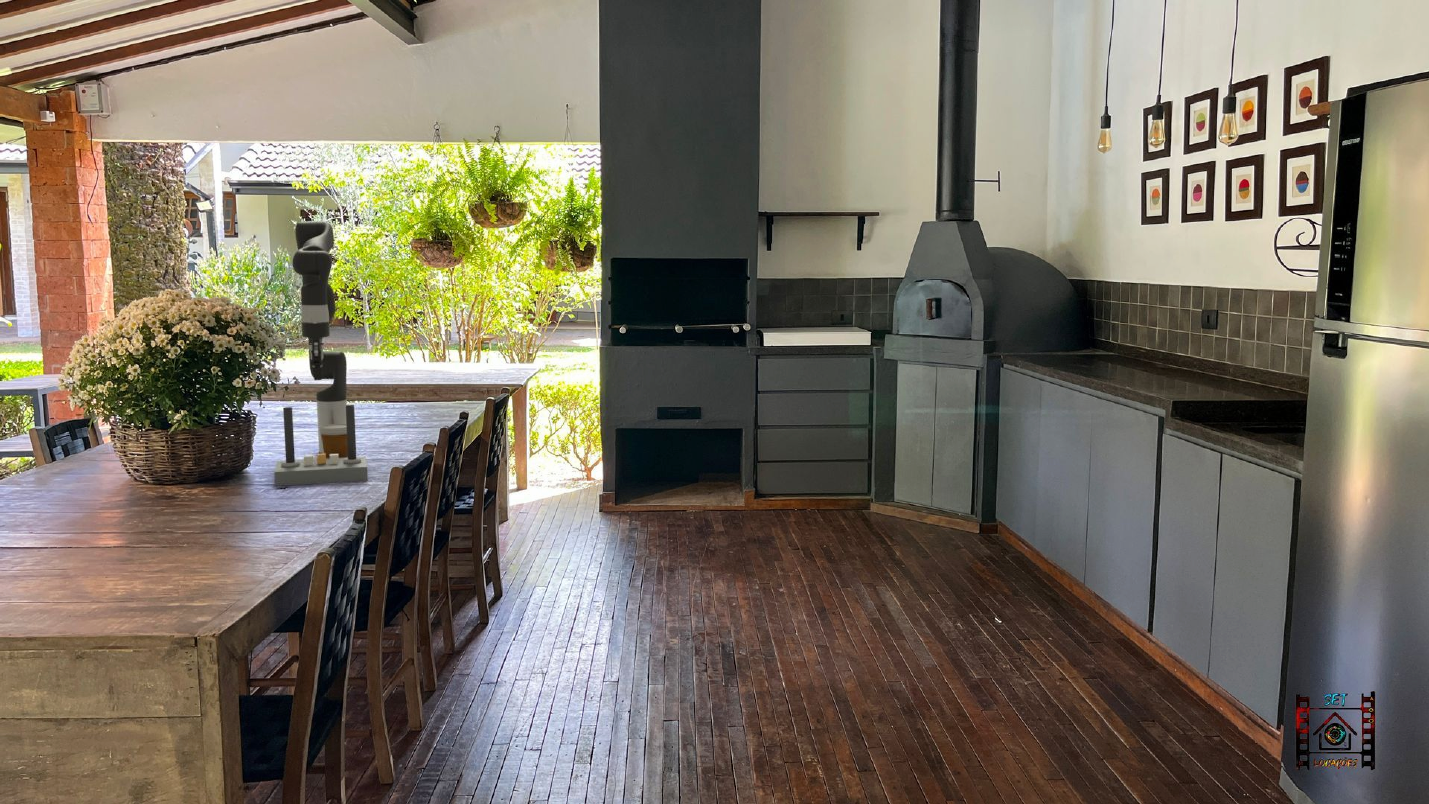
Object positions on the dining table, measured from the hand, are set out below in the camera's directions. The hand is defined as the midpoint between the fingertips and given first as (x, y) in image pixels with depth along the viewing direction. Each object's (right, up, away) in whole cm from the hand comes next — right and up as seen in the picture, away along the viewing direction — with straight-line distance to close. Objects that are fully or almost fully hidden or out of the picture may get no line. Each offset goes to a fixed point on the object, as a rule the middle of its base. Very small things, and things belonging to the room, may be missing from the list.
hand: (318, 379), depth 314 cm
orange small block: (+1, -24, +1) cm, 24 cm away
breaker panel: (+1, -29, +2) cm, 29 cm away
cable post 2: (+9, -24, +4) cm, 26 cm away
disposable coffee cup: (-2, -26, +21) cm, 33 cm away
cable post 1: (-7, -25, -1) cm, 26 cm away
